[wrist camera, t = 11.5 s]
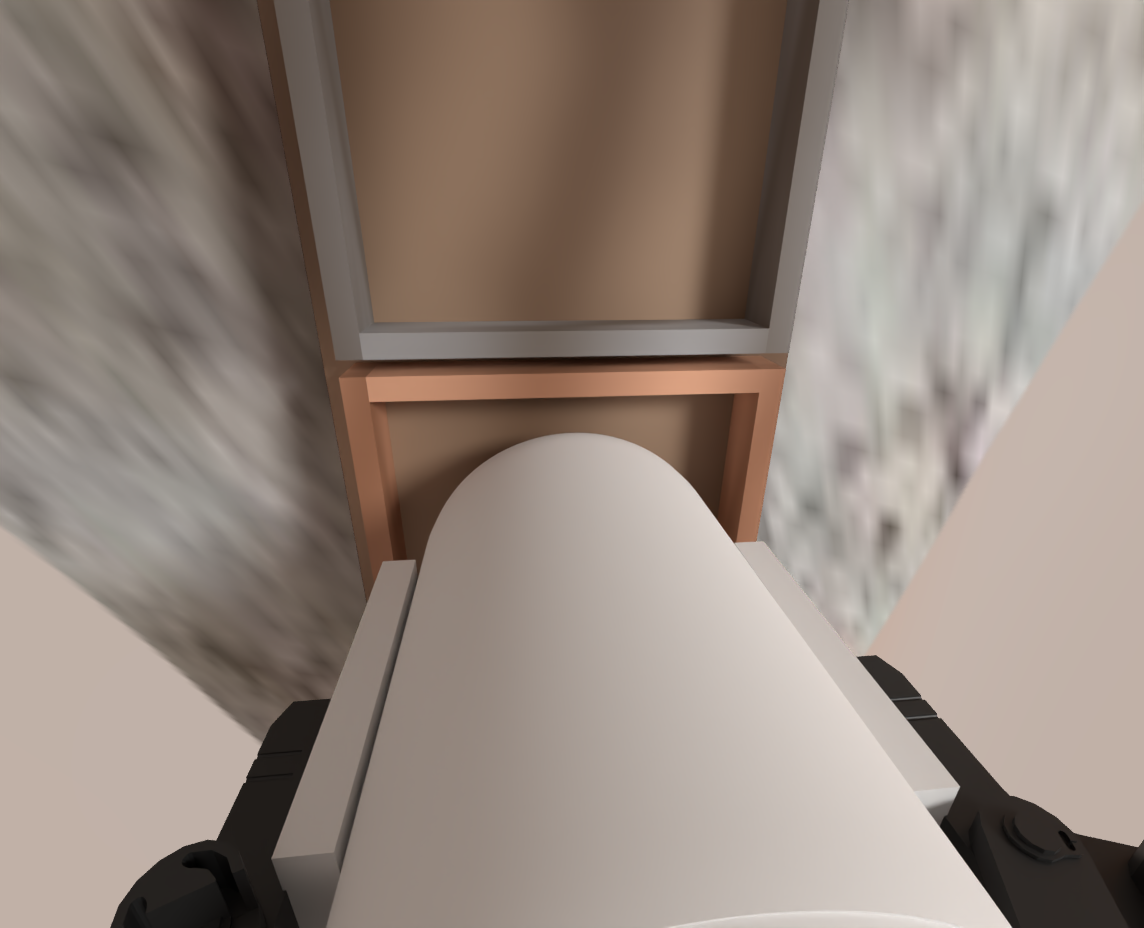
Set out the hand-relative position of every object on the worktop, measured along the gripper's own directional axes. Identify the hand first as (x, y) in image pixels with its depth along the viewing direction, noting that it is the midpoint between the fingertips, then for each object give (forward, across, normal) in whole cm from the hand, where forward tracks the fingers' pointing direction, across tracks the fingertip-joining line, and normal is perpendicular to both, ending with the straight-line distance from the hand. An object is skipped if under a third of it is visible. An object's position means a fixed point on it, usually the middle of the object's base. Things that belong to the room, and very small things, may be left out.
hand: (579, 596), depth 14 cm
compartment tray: (+4, 0, +6) cm, 7 cm away
